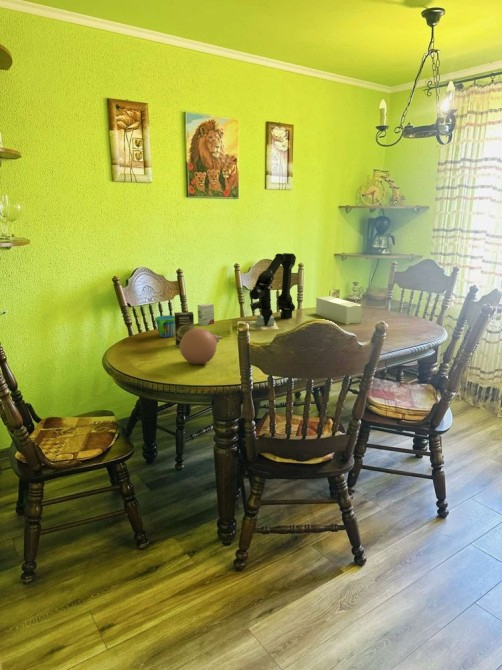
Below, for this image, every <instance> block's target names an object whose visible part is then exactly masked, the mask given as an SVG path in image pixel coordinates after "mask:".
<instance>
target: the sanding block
mask: <svg viewBox="0 0 502 670" xmlns="http://www.w3.org/2000/svg"><path fill="white" fill-rule="evenodd" d="M256 321H257V325H258V326H265V324H264V318H263V316H262V315H256ZM274 321H275V317H274V316H273V315H271V317H270V319H269V321H268V324H267V326H274Z"/></svg>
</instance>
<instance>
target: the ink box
mask: <svg viewBox="0 0 502 670" xmlns="http://www.w3.org/2000/svg"><path fill="white" fill-rule="evenodd" d="M197 324H198V325H200V326H201V327H203V326H207V325H213V324H215V305H214V303H210V302H208V303H202V304H201V303H200V304H197Z"/></svg>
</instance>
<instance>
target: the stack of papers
mask: <svg viewBox="0 0 502 670" xmlns="http://www.w3.org/2000/svg"><path fill="white" fill-rule="evenodd" d="M315 299H316V300H315V301H316V302H315V303H316V304H315V315H319V316H322V317H324V318H327V319H329V320H331V321H335V322H338V321H339V322H338V323H341V322H342V323H341V324H343V323H345V324H344V325H351V324H350V323H354V324H360V323H359V322H361V323H362V316H363V314H362V313H363V312H362V311H363V304H361V303H356V302H353V301H350V300H349V301H348V300H347V299H343V298H338V297H335V296H331V295H329V296H319V297H316V298H315Z"/></svg>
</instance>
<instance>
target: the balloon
mask: <svg viewBox="0 0 502 670" xmlns="http://www.w3.org/2000/svg"><path fill="white" fill-rule="evenodd" d="M222 339H223V336H220V335H217V334H216V333H214V334H212V333H211V332H210V331H208V329H204V328H201V327H197V328H195V327H194V329H191V330H189V331H188V332H186V333H185V334H184V336H183V337H182V339H181V342H180V347H179V349H180V354H181V356H182V357H183V358H184V360H186V361H187V362H189V363H190V364H193V365H204V364H206V363H208V362H210V361H211V360H212V359H213V357H214V356H215V354H216V352H217V345H218V343H220V340H222Z"/></svg>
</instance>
